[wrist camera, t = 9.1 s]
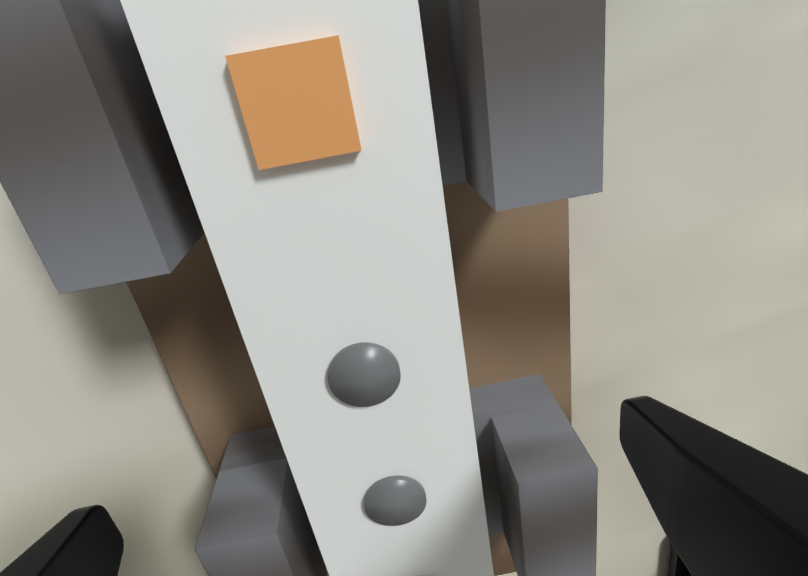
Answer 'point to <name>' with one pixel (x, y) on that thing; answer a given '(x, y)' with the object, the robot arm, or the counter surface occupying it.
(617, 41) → the counter surface
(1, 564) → the counter surface
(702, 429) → the robot arm
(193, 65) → the white bar
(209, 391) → the cradle board
